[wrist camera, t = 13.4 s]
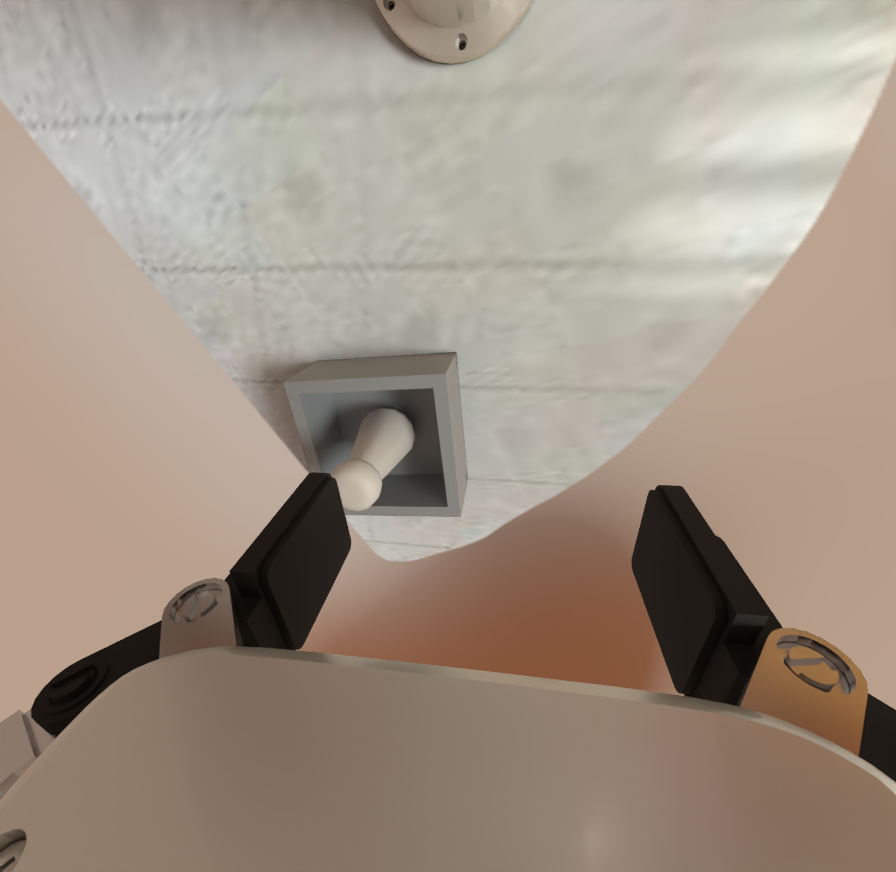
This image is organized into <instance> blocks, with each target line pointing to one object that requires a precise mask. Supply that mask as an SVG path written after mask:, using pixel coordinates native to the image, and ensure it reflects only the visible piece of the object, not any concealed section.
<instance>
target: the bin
mask: <svg viewBox="0 0 896 872" xmlns="http://www.w3.org/2000/svg"><path fill="white" fill-rule="evenodd" d="M283 385H284V389H285V392H286V395H287V398H288V401H289V405H290V408H291V411H292V414H293V418H294V421H295V424H296V427H297V430H298V434H299V437H300V440H301V443H302V447H303V450H304V453H305V456H306V460H307V463H308V466H309V469H310V472H319V473H329V474H331V472H332V471H333V470H334V469H335V468H336V466H337V465H338V464H339V463H341V462H343V461H346V460H349V458H350V455H351V452H352V449H353V446H354V443H355V440H356V437H357V435H358V432H359V429H360V426H361V423H362V421H363V420H364V418H365V417H366V416H367V415H368V413H370V412H371V411H374V410H377V409H380V408H391V409H393V408H398V409H399V410H401V411H402V412H403V413H404V414H406V415H407V416H408V417H409V418H410V419H411V421H412V424H413V428H414V432H415V439H414V443H413V447H412V449H411V450H410V451H409V452H408V453H407V454H406V455H405V456H404V457H403V458H402V459H401V461H400V462H399V463H398V464H397V465H396V466H395V467H394V468H393V469H392V470H391V471H390V472H389V473H388V474H387V475H386V476H385V477H384V478H383V479H382V488H381V493H380V495H379V498H378V499H377V500H376V501H375V502H374V503H373V504H372V505H371V506H370V507H369V508H368V509H365V510H362V511H353V510H347V509H345V508H343V509H344V513H345V515H381V516H440V517H461V512H462V507H463V502H464V496H465V491H466V485H467V480H468V476H467V465H466V454H465V443H464V432H463V421H462V410H461V398H460V387H459V376H458V365H457V354H456V352H452V353H436V354H420V355H404V356H388V357H372V358H356V359H340V360H324V361H317V362H315V363H313V364H312V365H310V366H308V367H307V368H305V369H304V370H302V371H300V372H299V373H297V374H295V375H294V376H292V377H290V378H289V379H287V380H285V381H284V382H283Z"/></svg>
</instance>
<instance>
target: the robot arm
mask: <svg viewBox="0 0 896 872" xmlns="http://www.w3.org/2000/svg"><path fill="white" fill-rule="evenodd" d="M375 1H376V3H377V5H378V7H379V9H380V11H381V13H382V15H383V17H384V18H385V20H386V21H387V23H388V25H389V26H390V28H391V29H392V31H393V32H394V33H395V34H396V35H397V36H398V38H399V39H400V40H401V41H402V42H403V43H404V44H405V45H406V46H407V47H409V48H410V49H411V50H413V51H414V52H416V53H417V54H418V55H420V56H422V57H425V58H427V59H430V60H432V61H435V62H441V63H449V64H454V63H461V62H468V61H471V60H473V59H476V58H478V57H481V56H483V55H485V54H486V53H488V52H489V51H491V50H492V49H494V48H495V47H497V46H498V45H500V44H501V43H502V42H503V41H504V40H505V39H506V38H507V37H508V36H509V35H510V34H511V33H512V32H513V31H514V30H515V28H516V27H517V25H518V24H519V23H520V21H521V20H522V18H523V17H524V16H525V14H526V13H527V11H528V9H529V7H530V5H531V4H532V2H533V0H375ZM392 4H394V5H395V7H394V9H393V10H391V11H390V6H391V5H392ZM462 43H465V44H466V48H465V49H463V50H460V49H459V47H460V45H461V44H462ZM350 548H351V538H350V534H349V530H348V526H347V521H346V517H345V513H344V509H343V505H342V501H341V497H340V492H339V488H338V484H337V481H336V479H335V478H332V476H331V475H330V474H329V473H319V472H311V473H309V474H308V475H307V477H306V478H305V479H304V480H303V482H302V483H301V484H300V485H299V486H298V488H297V489H296V490H295V491H294V493H293V494H292V495H291V496H290V497H289V499H288V500H287V501H286V502H285V504H284V505H283V506H282V507H281V509H280V510H279V511H278V512H277V513H276V515H275V516H274V517H273V518H272V520H271V521H270V522H269V523H268V525H267V526H266V527H265V528H264V529H263V531H262V532H261V533H260V535H259V536H258V537H257V538H256V539H255V541H254V542H253V543H252V544H251V546H250V547H249V548H248V549H247V550H246V552H245V553H244V554H243V556H242V557H241V558H240V559H239V560H238V562H237V563H236V564H235V565H234V566H233V568H232V569H231V570H230V574H229V575H228V577H227V578H226V579H225V580H222V579H217V578H210V579H204V580H201V581H198V582H195V583H193V584H191V585H189V586H187V587H186V588H184V589H183V590H182V591H180V592H179V593H177V594H176V595H175V596H174V597H173V598H172V599H171V600H170V602H169V603H168V604H167V606H166V607H165V609H164V612H163V615H162V620H161V621H159V622H157V623H155V624H153V625H151V626H149V627H147V628H145V629H143V630H141V631H139V632H137V633H135V634H132V635H130V636H128V637H126V638H124V639H122V640H120V641H118V642H116V643H114V644H112V645H110V646H108V647H106V648H104V649H102V650H100V651H98V652H96V653H93V654H91V655H89V656H87V657H85V658H83V659H81V660H79V661H77V662H76V663H74V664H72V665H70V666H69V667H67V668H66V669H64V670H63V671H62V672H60V673H59V674H58V675H56V676H55V677H54V678H53V679H52V680H51V681H50V682H49V683H48V684H47V685H46V686H45V687H44V688H43V689H42V691H41V692H40V693H39V695H38V696H37V697H36V699H35V701H34V704H33V706H32V708H31V709H30V710H29V711H28V712H26V713H25V714H24V713H23V712H21V711H20V710H19V711H17V712H15V713H14V714H12V715H11V716H10V717H8V718H7V719H5V720H4V721H2V722H1V723H0V872H896V710H895V709H893V708H891V707H889V706H888V705H886V704H885V703H883V702H882V701H880V700H878V699H876V698H875V697H873V696H871V695H870V694H868V688H867V681H866V680H865V678H864V676H863V674H862V672H861V670H860V669H859V668H858V667H857V666H856V665H855V664H854V662H853V661H852V660H851V659H850V658H849V657H848V656H847V655H845V654H844V653H843V652H842V651H841V650H839V649H838V648H837V647H836V646H834V645H832V644H831V643H829V642H827V641H826V640H824V639H822V638H821V637H818V636H816V635H814V634H811V633H809V632H806V631H802V630H798V629H794V628H783V627H782V626H781V624H780V623H779V622H778V620H777V619H776V617H775V616H774V614H773V613H772V612H771V610H770V608H769V607H768V605H767V604H766V603H765V601H764V600H763V598H762V597H761V595H760V594H759V592H758V591H757V589H756V588H755V587H754V585H753V583H752V582H751V581H750V579H749V578H748V576H747V575H746V573H745V572H744V570H743V569H742V567H741V566H740V564H739V563H738V562H737V560H736V559H735V557H734V556H733V554H732V553H731V551H730V550H729V548H728V547H727V545H726V544H725V542H724V541H723V540H722V539H721V538H720V537H717V536H715V534H714V533H713V531H712V530H711V528H710V527H709V525H708V524H707V522H706V521H705V519H704V518H703V516H702V515H701V513H700V512H699V511H698V509H697V507H696V506H695V504H694V503H693V502H692V500H691V498H690V497H689V495H688V494H687V492H686V491H685V490H684V488H683V487H681V486H668V485H658V486H657V487H656V489H655V490H650V491H649V493H648V496H647V500H646V504H645V509H644V512H643V517H642V520H641V524H640V528H639V532H638V536H637V540H636V544H635V548H634V552H633V556H632V570H633V573H634V576H635V579H636V581H637V584H638V587H639V590H640V592H641V595H642V598H643V601H644V604H645V606H646V609H647V612H648V615H649V617H650V620H651V623H652V625H653V628H654V631H655V634H656V637H657V640H658V642H659V645H660V648H661V651H662V654H663V656H664V659H665V662H666V665H667V667H668V670H669V673H670V676H671V678H672V681H673V684H674V686H675V689H676V690H677V692H678V693H682V694H684V696H679V695H671V694H664V693H657V692H650V691H643V690H635V689H628V688H620V687H612V686H604V685H596V684H588V683H579V682H571V681H562V680H555V679H546V678H538V677H530V676H521V675H513V674H504V673H495V672H487V671H478V670H469V669H461V668H453V667H443V666H435V665H426V664H417V663H408V662H400V661H391V660H382V659H381V660H380V659H372V658H362V657H354V656H345V655H335V654H326V653H317V652H306V651H296V649H300V648H301V647H302V646H303V644H304V642H305V641H306V639H307V637H308V634H309V632H310V630H311V628H312V626H313V624H314V622H315V620H316V618H317V616H318V614H319V612H320V610H321V608H322V606H323V604H324V602H325V600H326V598H327V596H328V594H329V592H330V590H331V588H332V586H333V584H334V582H335V580H336V578H337V576H338V573H339V572H340V570H341V567H342V565H343V563H344V561H345V559H346V557H347V555H348V553H349V551H350Z"/></svg>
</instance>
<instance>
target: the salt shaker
mask: <svg viewBox="0 0 896 872" xmlns="http://www.w3.org/2000/svg"><path fill="white" fill-rule="evenodd" d="M414 439H415V432H414V428H413V424H412V421H411V419H410V418H409V417H408V416H407V415H406V414H404V413H403V412H402V411H401V410H399V409H398V408H393V409H391V408H380V409H377V410H374V411H371V412H370V413H368V415H367V416H366V417H365V418H364V420H363V421H362V423H361V426H360V429H359V432H358V435H357V437H356V440H355V443H354V446H353V449H352V452H351V455H350V458H349V460H346V461H343V462H341V463H339V464H338V465H337V466H336V468H335V469H334V470H333V471H332V472H331V474H330V475H331V476H332V478H335V479H336V481H337V484H338V488H339V492H340V497H341V501H342V505H343V508H345V509H347V510H353V511H362V510H365V509H368V508H369V507H370V506H371V505H372V504H373V503H374V502H375V501H376V500H377V499H378V498H379V495H380V493H381V488H382V479H383V478H384V477H385V476H386V475H387V474H388V473H389V472H390V471H391V470H392V469H393V468H394V467H395V466H396V465H397V464H398V463H399V462H400V461H401V459H402V458H403V457H404V456H405V455H406V454H407V453H408V452H409V451H410V450H411V449H412V447H413V443H414Z"/></svg>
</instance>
